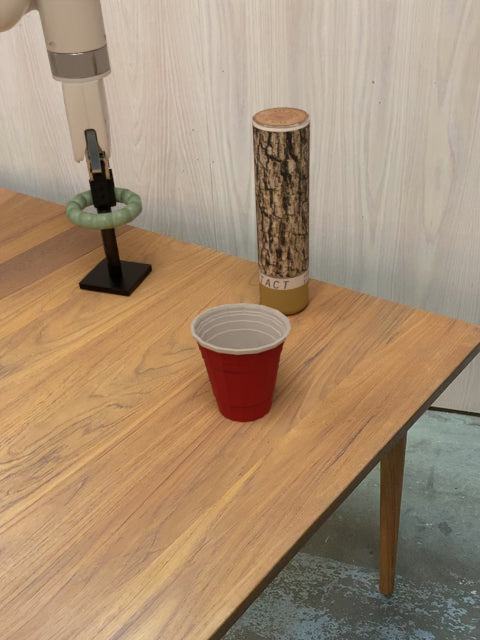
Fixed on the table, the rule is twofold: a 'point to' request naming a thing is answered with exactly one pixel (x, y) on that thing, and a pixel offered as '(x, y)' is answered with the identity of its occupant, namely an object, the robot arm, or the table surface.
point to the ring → (104, 219)
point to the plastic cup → (241, 356)
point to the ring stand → (114, 267)
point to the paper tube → (282, 206)
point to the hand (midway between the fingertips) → (105, 201)
